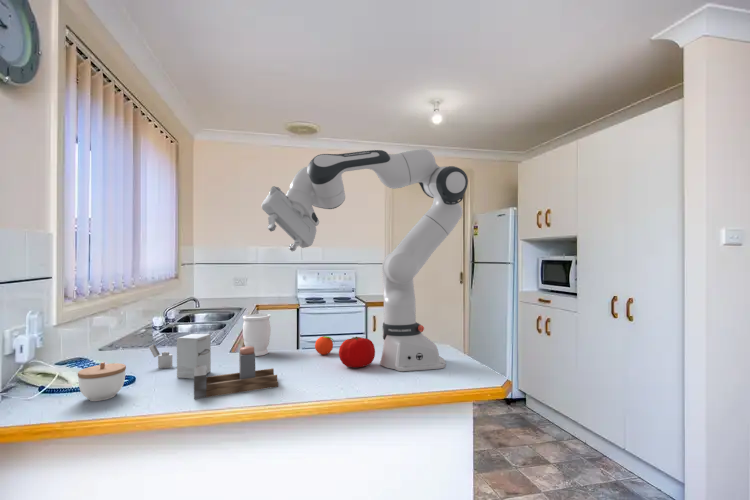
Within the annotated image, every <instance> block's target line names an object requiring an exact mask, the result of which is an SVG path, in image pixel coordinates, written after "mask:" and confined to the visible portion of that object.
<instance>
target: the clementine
mask: <svg viewBox="0 0 750 500" xmlns="http://www.w3.org/2000/svg"><path fill="white" fill-rule="evenodd" d="M334 344H335V339H333V338H332V337H331V336H326V335H322V336H320V337H319V338H317V339H316V340H315V344H314V348H315V351H316V352H317V354H320V355H323V356H325V355H328V354H330V353H331V352H332V351H333V348H334Z"/></svg>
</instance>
